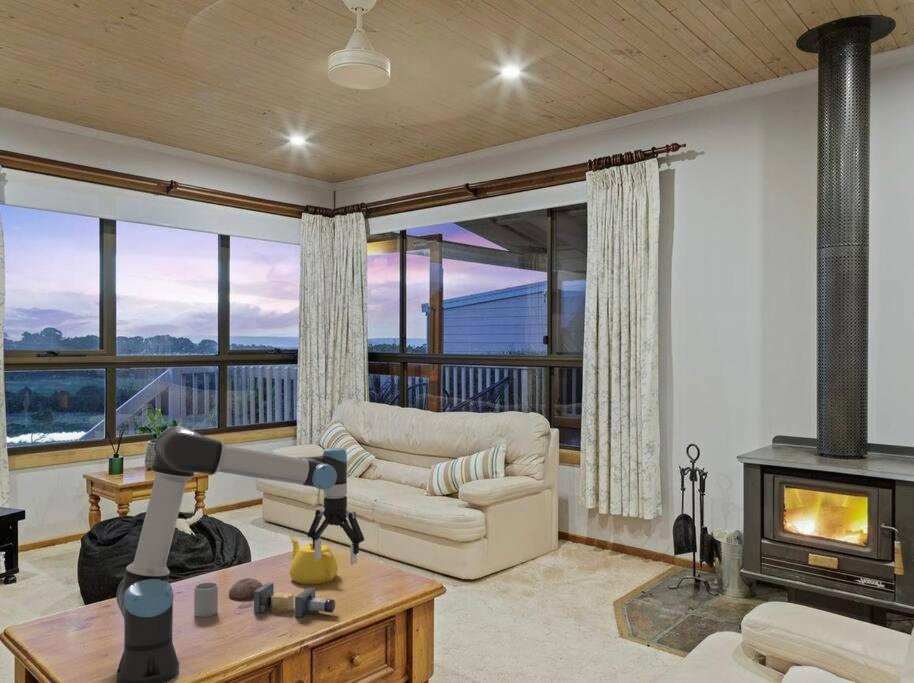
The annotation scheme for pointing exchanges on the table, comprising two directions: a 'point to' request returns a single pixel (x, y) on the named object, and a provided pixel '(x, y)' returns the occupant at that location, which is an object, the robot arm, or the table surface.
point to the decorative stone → (244, 589)
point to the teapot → (312, 564)
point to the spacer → (282, 602)
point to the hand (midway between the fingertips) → (335, 561)
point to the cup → (206, 599)
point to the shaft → (320, 604)
